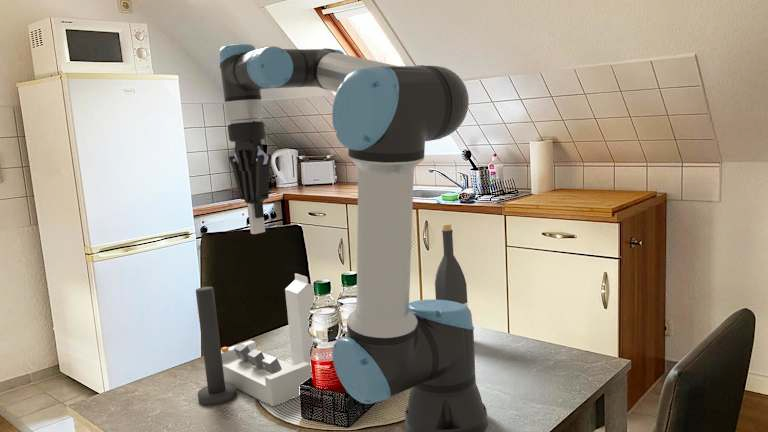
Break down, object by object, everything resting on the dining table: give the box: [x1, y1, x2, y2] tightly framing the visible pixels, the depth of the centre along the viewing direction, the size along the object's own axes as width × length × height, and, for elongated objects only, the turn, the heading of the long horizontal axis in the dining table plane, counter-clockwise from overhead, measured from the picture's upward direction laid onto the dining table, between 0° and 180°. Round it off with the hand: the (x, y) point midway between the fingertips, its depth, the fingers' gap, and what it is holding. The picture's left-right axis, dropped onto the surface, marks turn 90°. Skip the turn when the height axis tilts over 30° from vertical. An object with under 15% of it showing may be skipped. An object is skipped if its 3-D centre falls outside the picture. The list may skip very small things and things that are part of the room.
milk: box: [284, 273, 314, 367], centre depth 150 cm, size 6×6×22 cm
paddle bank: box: [234, 342, 282, 374], centre depth 141 cm, size 18×2×4 cm, turn 43°
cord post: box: [195, 286, 238, 407], centre depth 136 cm, size 8×8×24 cm
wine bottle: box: [434, 223, 469, 308], centre depth 156 cm, size 8×8×30 cm
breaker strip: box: [221, 340, 312, 407], centre depth 142 cm, size 24×10×7 cm, turn 43°
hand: (258, 232), depth 137 cm, fingers closed
